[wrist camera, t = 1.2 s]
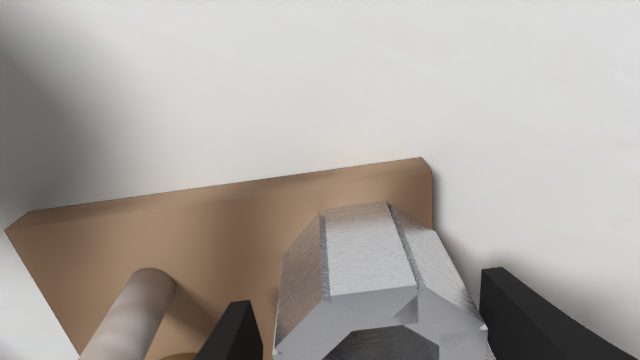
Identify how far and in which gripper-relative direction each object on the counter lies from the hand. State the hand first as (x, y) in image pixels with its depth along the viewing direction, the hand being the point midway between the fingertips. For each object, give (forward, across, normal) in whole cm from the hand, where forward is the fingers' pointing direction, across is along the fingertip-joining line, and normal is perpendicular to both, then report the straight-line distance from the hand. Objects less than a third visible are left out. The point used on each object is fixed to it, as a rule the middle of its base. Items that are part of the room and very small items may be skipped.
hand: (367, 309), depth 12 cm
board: (+3, +4, +2) cm, 6 cm away
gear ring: (+2, 0, 0) cm, 2 cm away
